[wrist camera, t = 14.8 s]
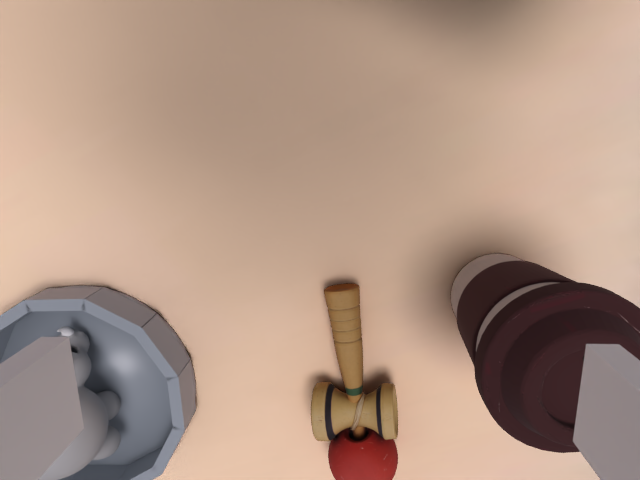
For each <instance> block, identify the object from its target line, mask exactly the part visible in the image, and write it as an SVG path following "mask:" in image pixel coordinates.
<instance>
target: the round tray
mask: <svg viewBox="0 0 640 480" xmlns="http://www.w3.org/2000/svg"><path fill="white" fill-rule="evenodd" d="M63 326H68V327H70V328H72V329H76V330H79V331H82V332H84V333H85V334H86V335H87V336H88V338H89V342H90V346H89V349H88V352H87V354H88V356H89V358H90V360H91V372H90V375H89V377H88V379H87V380H86V382H85V383H84V386H85V387H86V388H88V389H89V390H91V391H93V392H94V393H95V394H97V393H99V392H102V391H112V392H114V393H116V394H117V395H118V397H119V399H120V402H121V406H120V410H119V412H118V413H117V415H116V416H115V417H113V418H112V419H110V420H108V426H112V427H114V428H116V429H117V430H118V432H119V433H120V436H121V442H120V445H119V447H118V449H117V450H116V451H115V452H114V453H113V454H112V455H110V456H109V457H106V458H104V459H100V460H92V461H91V462H90V463H89V464H87V465H86V466H85V467H84V468H83V469H81V470H80V471H78V472H76V473H74V474H73V475H70V476H68V477H65V478H62V479H58V480H152V479H154V478H156V477H158V476H160V475H162V473H163V471H164V470H165V468H166V466H167V464H168V462H169V460H170V459H171V457H172V455H173V453H174V451H175V449H176V447H177V446H178V444H179V442H180V440H181V438H182V436H183V434H184V432H185V430H186V428H187V427H188V424H189V423H190V421H191V419H192V417H193V415H194V413H195V411H196V403H195V399H196V380H195V375H194V369H193V366H192V363H191V359H190V357H189V355H188V353H187V351H186V348H185V346H184V344H183V343H182V341H181V340H180V338H179V337H178V335H177V334H176V332H175V331H174V330H173V329H172V328H171V326H170V325H169V324H168V323H167V322H166V321H165V320H164V319H163V318H162V317H161V316H160V315H159V314H158V313H156V312H155V311H154V310H152V309H151V308H150V307H148V306H147V305H146V304H144V303H142V302H140V301H139V300H137V299H135V298H133V297H131V296H129V295H126V294H124V293H122V292H119V291H115V290H112V289H109V288H106V287H98V286H87V285H77V286H66V287H62V288H47V289H45V290H43V291H41V292H39V293H37V294H35V295H33V296H31V297H29V298H27V299H25V300H23V301H22V302H20V303H19V304H17V305H16V306H14V307H13V308H11V309H10V310H8V311H7V312H5V313H4V314H2V315H1V316H0V364H1V363H2V362H4V361H5V360H7V359H8V358H10V357H11V356H13V355H14V354H16V353H17V352H19V351H20V350H22V349H23V348H25V347H26V346H28V345H29V344H31V343H32V342H34V341H35V340H37V339H39V338H40V337H58V335H59V334H60V333H61V332H57V330H58V329H60V328H61V327H63Z"/></svg>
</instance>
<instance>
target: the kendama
mask: <svg viewBox="0 0 640 480" xmlns="http://www.w3.org/2000/svg"><path fill="white" fill-rule="evenodd" d="M324 294H325V299H326V303H327V307H328V312H329V317H330V322H331V327H332V333H333V338H334V344H335V349H336V354H337V359H338V363H339V367H340V371H341V375H342V378H343V382H344V385H345V389H346V393H347V394H345V393H343V392H341V391H340V390H338V389H337V388H336V387H335V386H334V385H333V384H332V383H331V382H319V383H317V384H316V385H315V387H314V390H313V394H312V401H311V423H312V430H313V434H314V436H315V438H316V440H318V441H331V442H330V446H329V453H328V458H329V465H330V469H331V471H332V474H333V476H334V478H335V479H336V480H392V479H393V477H394V475H395V472H396V469H397V464H398V454H397V448H396V445H395V442H394V440H393V439H396V438H397V435H398V411H397V398H396V391H395V386H394V384H389V383H383V384H382V385H381V386H380V387H379V388H377V389H376V390H375V391H373V392H371V393H369V394H367V395H366V394H365V393H363V391H362V388H363V351H362V338H361V336H362V334H361V318H360V305H359V304H360V295H359V286H358V285H357V284H352V283H346V284H337V285H332V286H329V287H327V288H326V289H324Z"/></svg>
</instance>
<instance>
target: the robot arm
mask: <svg viewBox="0 0 640 480" xmlns="http://www.w3.org/2000/svg"><path fill="white" fill-rule="evenodd" d="M83 429H84V424H83V418H82V412H81V406H80V400H79V394H78V388H77V382H76V376H75V370H74V364H73V358H72V352H71V346H70V340H69V337H40V338H39V339H37V340H35V341H34V342H32V343H31V344H29V345H28V346H26V347H25V348H23V349H22V350H20V351H19V352H17V353H16V354H14V355H13V356H11V357H10V358H8V359H7V360H5V361H4V362H2V363H1V364H0V480H38V479H39V478H40V477H41V476H42V475H43V474H44V472H45V471H46V470H47V469H48V468H49V467H50V466H51V465H52V464H53V462H54V461H55V460H56V459H57V458H58V457H59V456H60V455H61V454H62V452H63V451H64V450H65V449H66V448H67V447H68V446H69V445H70V443H71V442H72V441H73V440H74V439H75V438H76V437H77V436H78V435H79V433H80V432H81V431H82V430H83ZM573 442H574V444H575V445H576V447H577V448H578V449H579V451H580V452H581V453H582V455H583V456H584V458H585V459H586V460H587V462H588V463H589V464H590V466H591V467H592V469H593V470H594V471H595V473H596V474H597V475H598V477H599V478H600V479H601V480H640V360H639V359H637V358H636V357H635V356H633V355H632V354H631V353H630V352H628V351H627V350H626V349H624V348H623V347H622V346H621V345H619V344H586V349H585V356H584V363H583V370H582V378H581V385H580V392H579V399H578V407H577V414H576V421H575V428H574V436H573Z"/></svg>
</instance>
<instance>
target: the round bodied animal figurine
mask: <svg viewBox="0 0 640 480" xmlns="http://www.w3.org/2000/svg"><path fill="white" fill-rule="evenodd" d="M57 332H61V333H60V334H59V335H58V337H69V340H70V346H71V352H72V358H73V364H74V370H75V376H76V382H77V388H78V394H79V400H80V406H81V412H82V418H83V424H84V429H83V430H82V431H81V432H80V433H79V435H78V436H77V437H76V438H75V439H74V440H73V441H72V442H71V443H70V445H69V446H68V447H67V448H66V449H65V450H64V451H63V452H62V454H61V455H60V456H59V457H58V458H57V459H56V460H55V461H54V462H53V464H52V465H51V466H50V467H49V468H48V469H47V470H46V471H45V472H44V474H43V475H42V476H41V477H40V478H39V479H38V480H58V479H62V478H65V477H68V476H70V475H73V474H74V473H76V472H78V471H80V470H81V469H83V468H84V467H85V466H86V465H87V464H89V463H90V462H91V461H92V460H100V459H104V458H106V457H109V456H110V455H112V454H113V453H114V452H115V451H116V450H117V449H118V447H119V445H120V442H121V436H120V433H119V432H118V430H117V429H116V428H114V427H112V426H108V420H110V419H112V418H113V417H115V416H116V415H117V413H118V412H119V410H120V406H121V402H120V399H119V397H118V395H117V394H116V393H114V392H112V391H102V392H99V393H97V394H95V393H94V392H93V391H91V390H89V389H88V388H86V387H85V386H84V383H85V382H86V380H87V379H88V377H89V375H90V372H91V360H90V358H89V356H88V354H87V352H88V349H89V346H90V342H89V338H88V336H87V335H86V334H85V333H84V332H82V331H79V330H76V329H72V328H70V327H68V326H63V327H61V328H60V329H58V330H57Z"/></svg>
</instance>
